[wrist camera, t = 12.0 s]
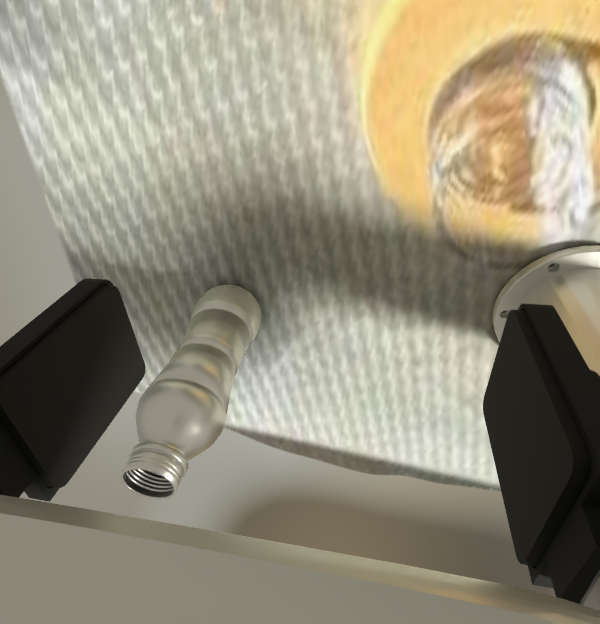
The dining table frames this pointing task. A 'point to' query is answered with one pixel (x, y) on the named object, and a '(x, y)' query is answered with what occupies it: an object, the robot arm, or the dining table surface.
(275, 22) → the dining table surface
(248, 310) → the plastic bottle
